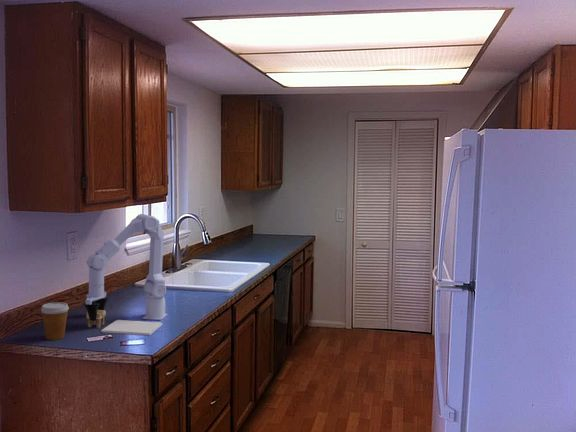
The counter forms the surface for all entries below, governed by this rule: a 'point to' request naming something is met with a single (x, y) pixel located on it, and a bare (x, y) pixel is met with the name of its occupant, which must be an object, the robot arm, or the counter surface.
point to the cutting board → (132, 327)
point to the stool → (99, 318)
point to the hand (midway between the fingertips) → (96, 318)
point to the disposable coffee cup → (54, 320)
